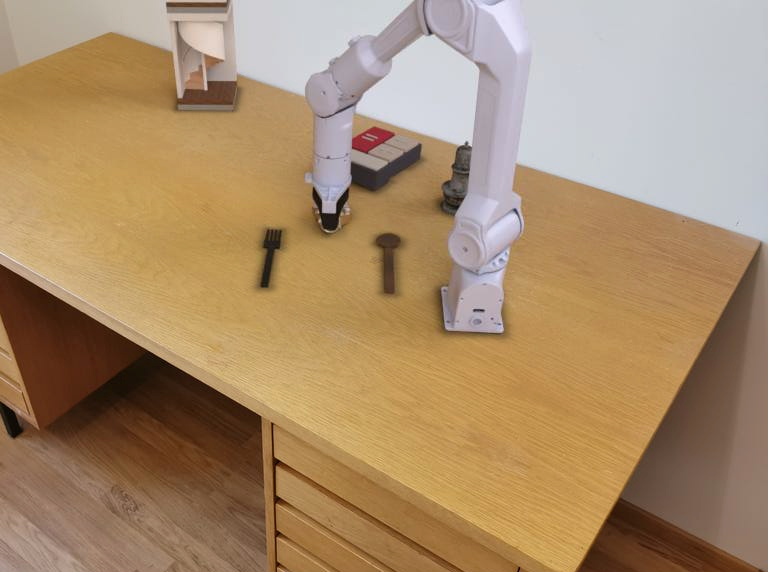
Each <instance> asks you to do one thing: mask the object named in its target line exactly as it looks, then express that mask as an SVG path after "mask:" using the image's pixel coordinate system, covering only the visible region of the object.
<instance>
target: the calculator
mask: <svg viewBox="0 0 768 572" xmlns="http://www.w3.org/2000/svg"><path fill="white" fill-rule="evenodd" d="M422 147H423V144H422V143H420V141H419V140H416V139H413V138H411V137H407V136H405V135H401V134H395V132H392V131H391V130H387V129H384V128H382V127H381V128H380V127H378V126H376V125H375V126H372V127H370V128H369V129H367V130H364V131H363V132H361V133H359V134H358V135H356V136H354V137H352V152H351V170H350V174H351V183H353V184H356V185H359V186H361V187H363V188H366V189H369V190H371V191H378V190H379V189H381V188H383V187H384V186H385V185H387V184H388V183H389V181H390V180H391V179H392V178H394V176H396V175H398V174H400V173H401V172H403V171H404V170H405V169H407V168H409V167H410V166H411V165H413V164H415V163H416V162H418V161H420V159H421V154H422Z"/></svg>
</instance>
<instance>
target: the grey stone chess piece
mask: <svg viewBox="0 0 768 572" xmlns="http://www.w3.org/2000/svg"><path fill="white" fill-rule="evenodd" d="M471 152H472V145H469V141H468V140H466V141H465V142H464V144H461V145H460V146H458V147H457V148H456V150H455V156H454V161H453V163H452V164H451V170H452V172H451V178H450V179H448V180H446V181H444V182H442V183H441V191H442V195H443V198H444V199H443V200H442V201H441V202H440V209H441V210H442V211H443V212H444V213H446V214H449V215H453V216H455V214H456V212H457V211H458V209H459V207H460V205H461V204H462V202H463V200H464V198H465V197H466V195H467V191H468V181H469V171H470V161H471Z"/></svg>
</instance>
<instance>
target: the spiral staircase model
mask: <svg viewBox="0 0 768 572" xmlns="http://www.w3.org/2000/svg"><path fill="white" fill-rule="evenodd" d="M233 1H234V0H165V8H166V17H167V21H168V23H169V31H170V40H171V51H172V58H173V59H172V60H173V67H174V77H175V84H176V94H177V100H176V103H177V110H178V111H234V108H235V103H236V99H237V94H238V89H239V88H238V74H237V55H236V37H235V20H234V3H233Z"/></svg>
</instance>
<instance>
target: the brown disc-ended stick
mask: <svg viewBox="0 0 768 572" xmlns="http://www.w3.org/2000/svg"><path fill="white" fill-rule="evenodd" d="M400 245H401V237H400V236H398V235H397V234H396V233H395V234H394V233H391V232H390V233H389V232H387V233H382V234H380V235H379V236H378V237H377V246H379V247H380V248H382V249H384V293H385V294H395V263H394V249H397V248H398V247H400Z"/></svg>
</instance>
